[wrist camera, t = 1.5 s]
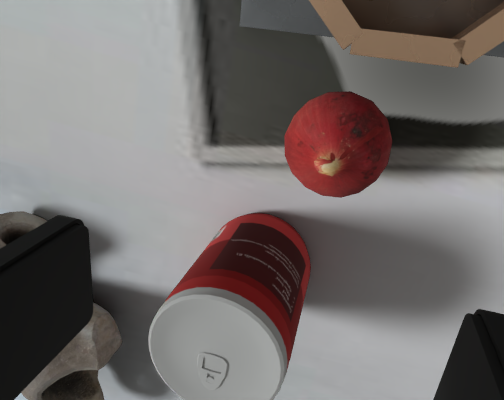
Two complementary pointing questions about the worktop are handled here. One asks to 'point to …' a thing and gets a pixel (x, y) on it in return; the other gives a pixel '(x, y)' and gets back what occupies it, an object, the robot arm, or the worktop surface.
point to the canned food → (234, 313)
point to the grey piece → (80, 347)
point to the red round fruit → (338, 144)
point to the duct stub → (391, 26)
